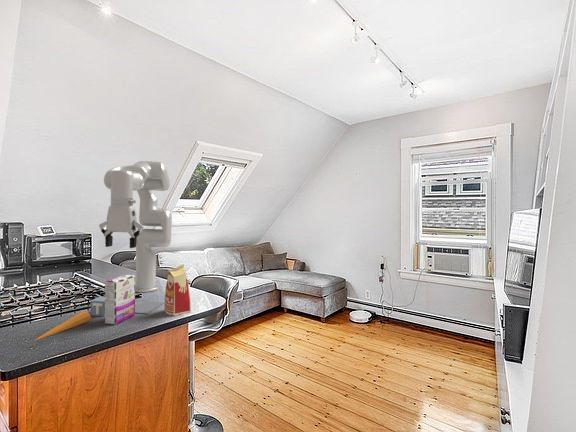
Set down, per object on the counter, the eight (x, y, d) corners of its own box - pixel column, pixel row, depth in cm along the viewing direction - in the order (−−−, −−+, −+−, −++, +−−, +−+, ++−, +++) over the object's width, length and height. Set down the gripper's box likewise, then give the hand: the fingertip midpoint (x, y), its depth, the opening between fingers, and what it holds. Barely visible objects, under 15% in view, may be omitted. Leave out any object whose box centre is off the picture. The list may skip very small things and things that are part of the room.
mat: (143, 301, 148) (143, 300, 148) (164, 303, 147) (164, 302, 147) (124, 312, 133) (124, 311, 133) (147, 314, 132) (147, 313, 132)
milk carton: (181, 306, 143) (183, 262, 142) (191, 312, 136) (193, 265, 136) (161, 310, 136) (162, 264, 136) (171, 316, 130) (172, 267, 129)
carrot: (86, 322, 123) (82, 311, 123) (94, 319, 122) (90, 308, 122) (30, 349, 104) (26, 336, 104) (39, 346, 103) (34, 333, 103)
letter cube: (100, 310, 134) (100, 296, 134) (114, 311, 134) (114, 297, 134) (90, 315, 128) (90, 300, 128) (104, 316, 128) (104, 301, 127)
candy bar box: (124, 314, 131) (125, 274, 130) (135, 315, 130) (136, 275, 129) (103, 323, 120) (104, 280, 119) (115, 325, 119) (116, 281, 118)
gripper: (148, 203, 126) (147, 247, 127) (107, 201, 128) (106, 244, 128) (137, 203, 119) (136, 249, 119) (93, 201, 120) (92, 247, 121)
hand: (120, 247), depth 124 cm, fingers open, 9 cm apart
